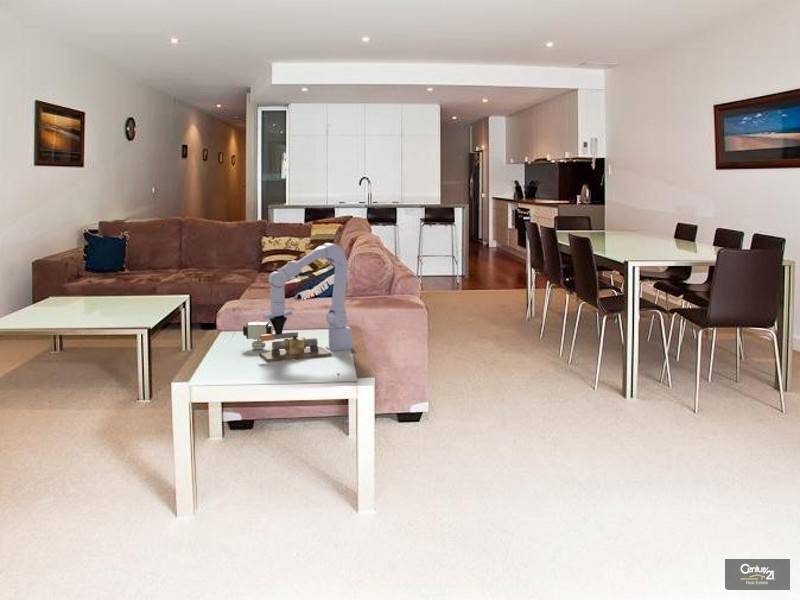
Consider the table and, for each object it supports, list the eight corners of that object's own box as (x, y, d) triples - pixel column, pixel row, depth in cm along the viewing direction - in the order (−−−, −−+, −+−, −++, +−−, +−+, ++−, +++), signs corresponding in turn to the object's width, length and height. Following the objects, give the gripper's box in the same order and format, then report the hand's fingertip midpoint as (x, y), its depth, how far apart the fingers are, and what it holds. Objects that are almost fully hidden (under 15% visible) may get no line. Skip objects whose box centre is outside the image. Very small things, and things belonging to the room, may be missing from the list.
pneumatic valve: (271, 349, 334) (270, 321, 332) (243, 350, 334) (242, 321, 332) (273, 347, 339) (272, 319, 337) (246, 347, 339) (245, 319, 337)
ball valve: (320, 349, 334) (320, 332, 333) (331, 356, 321) (331, 337, 320) (259, 355, 323) (258, 337, 322) (267, 362, 311) (267, 343, 310)
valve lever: (296, 336, 323) (296, 331, 322) (298, 337, 321) (298, 332, 320) (260, 340, 316) (259, 334, 316) (262, 341, 314) (261, 335, 313)
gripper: (271, 304, 314) (272, 338, 316) (297, 300, 326) (298, 333, 328) (259, 303, 318) (260, 336, 320) (284, 298, 330) (285, 331, 332)
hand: (278, 334), depth 324 cm, fingers closed
